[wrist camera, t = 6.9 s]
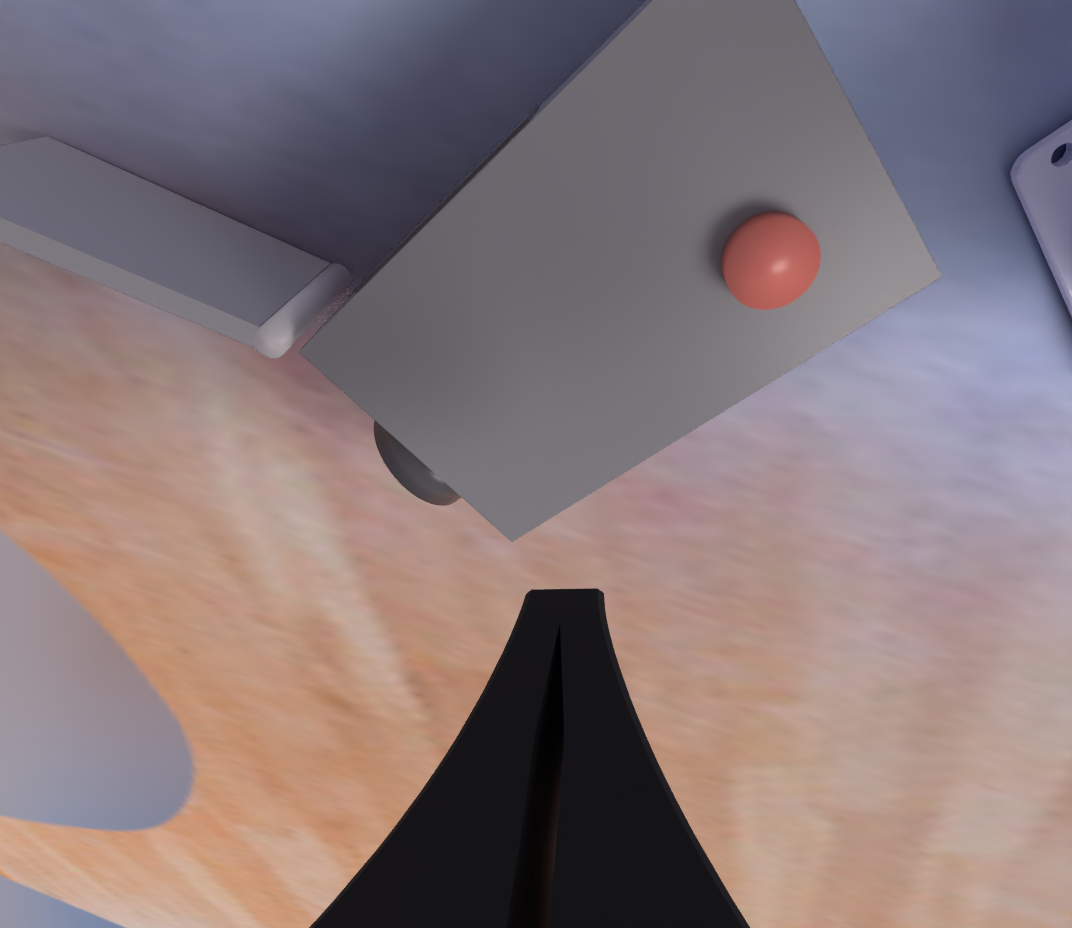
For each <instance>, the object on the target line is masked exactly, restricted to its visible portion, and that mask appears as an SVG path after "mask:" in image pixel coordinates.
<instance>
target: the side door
mask: <svg viewBox="0 0 1072 928" xmlns="http://www.w3.org/2000/svg"><path fill="white" fill-rule="evenodd" d="M0 242H1V243H3V244H5V245H8V246H10V247H13V248H15V249H17V250H20V251H22V252H25V253H27V254H29V255H32V256H34V257H37V258H39V259H41V260H44V261H46V262H49V263H51V264H53V265H56V266H58V267H61V268H63V269H66V270H68V271H70V272H73V273H75V274H78V275H80V276H82V277H85V278H87V279H90V280H92V281H94V282H97V283H99V284H102V285H104V286H106V287H109V288H111V289H114V290H116V291H118V292H121V293H123V294H126V295H128V296H130V297H133V298H135V299H138V300H140V301H142V302H145V303H147V304H150V305H152V306H154V307H157V308H159V309H162V310H164V311H166V312H169V313H171V314H174V315H176V316H179V317H181V318H183V319H186V320H188V321H191V322H193V323H195V324H198V325H200V326H203V327H205V328H207V329H210V330H212V331H215V332H217V333H219V334H222V335H224V336H227V337H229V338H231V339H234V340H236V341H239V342H241V343H243V344H246V345H248V346H251V347H253V348H256V349H257V351H258V352H259V353H261V354H262V355H264V356H266V357H268V358H279V357H281V356H282V355H283V354H284V353H285V352H286V351H287V350H288V349H289V348H290V347H291V346H292V345H293V344H294V343H295V342H296V341H297V340H298V339H299V338H300V337H301V335H302V334H303V333H304V332H305V331H306V330H307V329H308V328H309V327H310V326H311V325H312V324H313V323H314V322H315V321H316V320H317V319H318V318H319V317H320V316H321V315H322V314H323V313H324V312H325V311H326V310H327V308H328V307H329V306H330V305H331V304H332V303H333V302H334V301H335V300H336V299H337V298H338V297H339V296H340V295H341V294H342V293H343V292H344V291H345V290H346V289H347V288H348V287H349V285H350V283H351V275H350V273H349V271H348V270H347V268H346V267H344V266H343V265H341V264H338V263H333V264H331V263H329V262H327V261H324V260H322V259H320V258H318V257H316V256H313V255H311V254H309V253H307V252H304V251H302V250H300V249H298V248H295V247H293V246H291V245H289V244H287V243H284V242H282V241H280V240H278V239H275V238H273V237H271V236H269V235H267V234H264V233H262V232H260V231H258V230H255V229H253V228H251V227H249V226H247V225H244V224H242V223H240V222H238V221H235V220H233V219H231V218H229V217H227V216H224V215H222V214H220V213H218V212H215V211H213V210H211V209H209V208H206V207H204V206H202V205H200V204H198V203H195V202H193V201H191V200H189V199H186V198H184V197H182V196H180V195H178V194H175V193H173V192H171V191H169V190H166V189H164V188H162V187H160V186H158V185H155V184H153V183H151V182H149V181H146V180H144V179H142V178H140V177H138V176H135V175H133V174H131V173H129V172H126V171H124V170H122V169H120V168H117V167H115V166H113V165H111V164H109V163H106V162H104V161H102V160H100V159H97V158H95V157H93V156H91V155H89V154H86V153H84V152H82V151H80V150H77V149H75V148H73V147H71V146H69V145H66V144H64V143H62V142H60V141H57V140H55V139H53V138H51V137H49V136H47V137H41V138H36V139H31V140H26V141H21V142H16V143H11V144H6V145H1V146H0Z"/></svg>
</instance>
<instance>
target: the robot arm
mask: <svg viewBox="0 0 1072 928" xmlns="http://www.w3.org/2000/svg"><path fill="white" fill-rule="evenodd" d="M1063 144H1066V151H1065V153H1064V155H1063V157H1062V158H1061V159H1059V160H1058V161H1057V162H1055V163H1051V156H1052V154H1053V152H1054V151H1055V150H1056V149H1057V148H1058V147H1059V146H1060V145H1063ZM1010 174H1011V181H1012V183H1013V185H1014V188H1015V190H1016V192H1017V194H1018V197H1019V199H1020V201H1021V204H1022V206H1023V208H1024V210H1025V213H1026V215H1027V217H1028V219H1029V222H1030V224H1031V226H1032V228H1033V231H1034V233H1035V235H1036V237H1037V240H1038V242H1039V244H1040V246H1041V249H1042V251H1043V253H1044V256H1045V258H1046V260H1047V262H1048V265H1049V267H1050V269H1051V271H1052V274H1053V276H1054V278H1055V280H1056V283H1057V285H1058V287H1059V289H1060V292H1061V294H1062V296H1063V298H1064V301H1065V303H1066V305H1067V308H1068V310H1069V312H1070V314H1071V317H1072V120H1071V121H1069V122H1068V123H1066V124H1065V125H1063V126H1062V127H1060V128H1059V129H1057V130H1055V131H1054V132H1052V133H1051V134H1049V135H1048V136H1046V137H1045V138H1043V139H1042V140H1040V141H1039V142H1037V143H1036V144H1034V145H1033V146H1031V147H1030V148H1028V149H1027V150H1025V151H1024V152H1023V153H1022V154H1021V155H1020V156H1019V157H1018V158H1017V159H1016V161H1015V162H1014V164H1013V166H1012V169H1011V173H1010ZM309 928H750V927H749V925H748V924H747V922H746V920H745V919H744V917H743V916H742V914H741V912H740V911H739V909H738V908H737V906H736V904H735V903H734V901H733V900H732V898H731V896H730V895H729V893H728V891H727V890H726V888H725V886H724V884H723V883H722V881H721V879H720V878H719V876H718V874H717V872H716V871H715V869H714V867H713V865H712V864H711V862H710V860H709V859H708V857H707V855H706V853H705V852H704V850H703V848H702V847H701V845H700V843H699V841H698V840H697V838H696V836H695V834H694V833H693V831H692V829H691V827H690V825H689V823H688V821H687V819H686V818H685V816H684V814H683V812H682V810H681V808H680V806H679V804H678V802H677V801H676V799H675V797H674V795H673V793H672V791H671V789H670V787H669V785H668V783H667V781H666V779H665V777H664V775H663V772H662V770H661V768H660V766H659V764H658V762H657V760H656V758H655V755H654V753H653V751H652V749H651V747H650V744H649V742H648V740H647V737H646V735H645V733H644V730H643V728H642V726H641V723H640V721H639V719H638V716H637V714H636V711H635V709H634V706H633V704H632V701H631V699H630V696H629V693H628V690H627V687H626V684H625V682H624V679H623V676H622V673H621V670H620V668H619V664H618V661H617V658H616V655H615V651H614V648H613V644H612V640H611V637H610V633H609V628H608V624H607V619H606V613H605V603H604V593H603V592H602V591H600V590H599V589H544V590H531V591H529V592H528V593H527V594H526V596H525V599H524V602H523V605H522V608H521V611H520V613H519V616H518V619H517V621H516V624H515V626H514V628H513V631H512V633H511V635H510V638H509V640H508V642H507V644H506V646H505V649H504V651H503V653H502V655H501V657H500V659H499V661H498V663H497V665H496V667H495V669H494V671H493V673H492V675H491V677H490V679H489V681H488V683H487V685H486V687H485V689H484V691H483V693H482V694H481V696H480V698H479V700H478V702H477V703H476V705H475V707H474V708H473V710H472V712H471V714H470V715H469V717H468V719H467V721H466V722H465V724H464V726H463V728H462V729H461V731H460V733H459V734H458V736H457V738H456V739H455V741H454V743H453V744H452V746H451V747H450V749H449V750H448V752H447V754H446V755H445V757H444V758H443V760H442V761H441V763H440V764H439V766H438V767H437V769H436V770H435V772H434V773H433V775H432V776H431V778H430V779H429V781H428V782H427V784H426V785H425V786H424V788H423V789H422V791H421V792H420V793H419V795H418V796H417V798H416V799H415V800H414V802H413V803H412V804H411V806H410V807H409V808H408V810H407V811H406V812H405V814H404V815H403V817H402V818H401V819H400V821H399V822H398V823H397V825H396V826H395V827H394V829H393V830H392V831H391V832H390V834H389V835H388V836H387V838H386V839H385V840H384V841H383V843H382V844H381V845H380V846H379V848H378V849H377V850H376V851H375V853H374V854H373V855H372V856H371V857H370V858H369V860H368V861H367V862H366V863H365V864H364V866H363V867H362V868H361V869H360V870H359V871H358V873H357V874H356V875H355V876H354V877H353V879H352V880H351V881H350V882H349V883H348V885H347V886H346V887H345V888H344V889H343V890H342V892H341V893H340V894H339V895H338V896H337V898H336V899H335V900H334V901H333V902H332V903H331V904H330V906H329V907H328V908H327V909H326V910H325V911H324V912H323V913H322V914H321V916H320V917H319V918H318V919H317V920H316V921H315V922H314V923H313V924H312V925H311V926H310V927H309Z"/></svg>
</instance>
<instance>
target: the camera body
mask: <svg viewBox="0 0 1072 928" xmlns="http://www.w3.org/2000/svg"><path fill="white" fill-rule="evenodd" d="M941 277H942V275H941V273H940V271H939V269H938V268H937V266H936V264H935V262H934V260H933V258H932V256H931V254H930V253H929V251H928V249H927V247H926V245H925V243H924V241H923V239H922V238H921V236H920V234H919V232H918V230H917V228H916V226H915V224H914V223H913V221H912V219H911V217H910V215H909V213H908V211H907V209H906V208H905V206H904V204H903V202H902V200H901V198H900V196H899V194H898V192H897V191H896V189H895V187H894V185H893V183H892V181H891V179H890V177H889V176H888V174H887V172H886V170H885V168H884V166H883V164H882V162H881V161H880V159H879V157H878V155H877V153H876V151H875V149H874V147H873V146H872V144H871V142H870V140H869V138H868V136H867V134H866V132H865V130H864V129H863V127H862V125H861V123H860V121H859V119H858V117H857V115H856V114H855V112H854V110H853V108H852V106H851V104H850V102H849V100H848V99H847V97H846V95H845V93H844V91H843V89H842V87H841V85H840V84H839V82H838V80H837V78H836V76H835V74H834V72H833V70H832V69H831V67H830V65H829V63H828V61H827V59H826V57H825V55H824V53H823V52H822V50H821V48H820V46H819V44H818V42H817V40H816V38H815V37H814V35H813V33H812V31H811V29H810V27H809V25H808V23H807V22H806V20H805V18H804V16H803V14H802V12H801V10H800V8H799V7H798V5H797V3H796V1H795V0H645V1H644V2H643V3H642V4H641V5H640V6H639V7H638V8H637V9H636V10H635V11H634V12H633V13H632V14H631V15H630V16H629V17H628V18H627V19H626V20H625V21H624V22H623V23H622V24H621V25H620V26H619V27H618V28H617V29H616V30H615V31H614V32H613V33H612V34H611V35H610V36H609V37H608V38H607V39H606V40H605V41H604V42H603V43H602V44H601V45H600V46H599V47H598V48H597V49H596V50H595V51H594V52H593V53H592V54H591V55H590V56H589V57H588V58H587V59H586V60H585V61H584V62H583V63H582V64H581V65H580V66H579V67H578V68H577V69H576V70H575V71H574V72H573V73H572V74H571V75H570V76H569V77H568V78H567V79H566V80H565V81H564V82H563V83H562V84H561V85H560V86H559V87H558V88H557V89H556V90H555V91H554V92H553V93H552V94H551V95H550V96H549V97H548V98H547V99H546V100H545V101H544V102H543V103H542V104H541V105H540V106H538V105H537V106H536V107H535V108H534V109H533V110H532V111H531V112H530V113H529V114H528V115H527V116H526V117H525V118H524V119H523V120H522V121H521V122H520V123H519V124H518V125H517V126H516V127H515V128H514V129H513V130H512V131H511V132H510V133H509V134H508V135H507V136H506V137H505V138H504V139H503V140H502V141H501V142H500V143H499V144H498V145H497V146H496V147H495V148H494V149H493V150H492V151H491V152H490V153H489V154H488V155H487V156H486V157H485V158H484V159H483V160H482V161H481V162H480V163H479V164H478V165H477V166H476V167H475V168H474V169H473V170H472V171H471V172H470V173H469V174H468V175H467V176H466V177H465V178H464V179H463V180H462V181H461V182H460V183H459V184H458V185H457V186H456V187H455V188H454V189H453V190H452V191H451V192H450V193H449V194H448V195H447V196H446V197H445V198H444V199H443V200H442V201H441V202H440V203H439V204H438V205H437V206H436V207H435V208H434V209H433V210H432V211H431V212H430V213H429V214H428V215H427V216H426V217H425V218H424V219H423V220H422V221H421V222H420V223H419V224H418V225H417V226H416V227H415V228H414V229H413V230H412V231H411V232H410V233H409V234H408V235H407V236H406V237H405V238H404V239H403V240H402V241H401V242H400V243H399V244H398V245H397V246H396V247H395V248H394V249H393V250H392V251H391V252H390V253H389V254H388V255H387V256H386V257H385V258H384V259H383V260H382V261H381V262H380V263H379V264H378V265H377V266H376V267H375V268H374V269H373V270H372V271H371V273H370V274H369V275H368V276H367V277H366V278H365V279H364V280H363V281H362V282H361V283H360V284H359V285H358V287H357V288H356V289H355V290H354V292H353V293H352V294H351V296H350V297H349V298H348V299H347V300H346V301H345V302H344V303H343V304H342V305H341V306H340V307H339V309H338V310H337V311H336V312H335V313H334V314H333V315H332V316H331V317H330V318H329V319H328V320H327V322H326V323H325V324H324V325H323V326H322V327H321V328H320V329H319V330H318V331H317V332H316V333H315V335H314V336H313V337H312V338H311V339H310V340H309V341H308V342H307V343H306V344H305V345H304V346H303V348H302V349H301V350H300V351H299V353H300V354H302V355H303V356H304V357H305V358H306V359H307V360H308V361H309V362H311V363H312V364H313V365H314V366H315V367H316V368H317V369H318V370H320V371H321V372H322V373H323V374H324V375H325V376H326V377H327V378H329V379H330V380H331V381H332V382H333V383H334V384H335V385H336V386H337V387H339V388H340V389H341V390H342V391H343V392H344V393H345V394H346V395H348V396H349V397H350V398H351V399H352V400H353V401H354V402H355V403H357V404H358V405H359V406H360V407H361V408H362V409H363V410H364V411H365V412H367V413H368V414H369V415H370V416H371V417H372V418H373V419H374V420H375V422H374V436H375V441H376V445H377V448H378V450H379V453H380V455H381V457H382V459H383V461H384V463H385V464H386V466H387V467H388V469H389V470H390V472H391V473H392V474H393V476H394V477H395V478H396V479H397V480H398V481H399V482H400V483H401V484H402V485H403V486H404V487H405V488H406V489H407V490H408V491H410V492H411V493H412V494H413V495H415V496H416V497H418V498H420V499H422V500H424V501H426V502H428V503H431V504H435V505H442V506H443V505H449V504H452V503H454V502H456V501H457V500H458V499H460V498H461V497H462V498H463V499H464V500H465V501H466V502H467V503H469V504H470V505H471V506H472V507H473V508H474V509H475V510H476V511H478V512H479V513H480V514H481V515H482V516H483V517H484V518H485V519H486V520H488V521H489V522H490V523H491V524H492V525H493V526H494V527H495V528H497V529H498V530H499V531H500V532H501V533H502V534H503V535H504V536H506V537H507V538H508V539H509V540H510V541H511V542H513V541H514V540H516V539H518V538H519V537H521V536H523V535H524V534H526V533H527V532H529V531H531V530H532V529H534V528H536V527H537V526H539V525H540V524H542V523H544V522H545V521H547V520H549V519H550V518H552V517H553V516H555V515H557V514H558V513H560V512H561V511H563V510H565V509H566V508H568V507H570V506H571V505H573V504H574V503H576V502H578V501H579V500H581V499H583V498H584V497H586V496H587V495H589V494H591V493H592V492H594V491H595V490H597V489H599V488H600V487H602V486H604V485H605V484H607V483H608V482H610V481H612V480H613V479H615V478H617V477H618V476H620V475H621V474H623V473H625V472H626V471H628V470H630V469H631V468H633V467H634V466H636V465H638V464H639V463H641V462H642V461H644V460H646V459H647V458H649V457H651V456H652V455H654V454H655V453H657V452H659V451H660V450H662V449H664V448H665V447H667V446H668V445H670V444H672V443H673V442H675V441H676V440H678V439H680V438H681V437H683V436H685V435H686V434H688V433H689V432H691V431H693V430H694V429H696V428H698V427H699V426H701V425H702V424H704V423H706V422H707V421H709V420H711V419H712V418H714V417H715V416H717V415H719V414H720V413H722V412H723V411H725V410H727V409H728V408H730V407H732V406H733V405H735V404H736V403H738V402H740V401H741V400H743V399H745V398H746V397H748V396H749V395H751V394H753V393H754V392H756V391H757V390H759V389H761V388H762V387H764V386H766V385H767V384H769V383H770V382H772V381H774V380H775V379H777V378H779V377H780V376H782V375H783V374H785V373H787V372H788V371H790V370H792V369H793V368H795V367H796V366H798V365H800V364H801V363H803V362H804V361H806V360H808V359H809V358H811V357H813V356H814V355H816V354H817V353H819V352H821V351H822V350H824V349H826V348H827V347H829V346H830V345H832V344H834V343H835V342H837V341H838V340H840V339H842V338H843V337H845V336H847V335H848V334H850V333H851V332H853V331H855V330H856V329H858V328H860V327H861V326H863V325H864V324H866V323H868V322H869V321H871V320H873V319H874V318H876V317H877V316H879V315H881V314H882V313H884V312H885V311H887V310H889V309H890V308H892V307H894V306H895V305H897V304H898V303H900V302H902V301H903V300H905V299H907V298H908V297H910V296H911V295H913V294H915V293H916V292H918V291H919V290H921V289H923V288H924V287H926V286H928V285H929V284H931V283H932V282H934V281H936V280H937V279H939V278H941Z"/></svg>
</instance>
